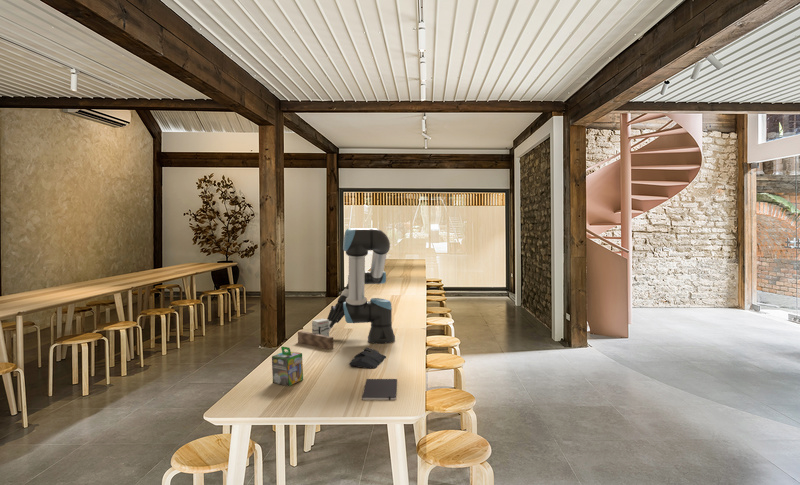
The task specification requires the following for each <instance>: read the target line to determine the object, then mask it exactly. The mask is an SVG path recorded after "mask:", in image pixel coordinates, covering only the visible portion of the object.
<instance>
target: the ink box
mask: <svg viewBox="0 0 800 485" xmlns="http://www.w3.org/2000/svg"><path fill="white" fill-rule="evenodd" d="M311 333H314V334H320V335H325V336H330V331H329V320H327V318H318V319H313V320H312V321H311Z"/></svg>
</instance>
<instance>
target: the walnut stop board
mask: <svg viewBox="0 0 800 485" xmlns="http://www.w3.org/2000/svg"><path fill="white" fill-rule="evenodd" d="M297 343H299V344H303V345H308V346H312V347H317V348H323V349H327V350H332V349H334V337H333V336H330V335H329V336H325V335H320V334H314V333H312V332H309V331H303V330H299V331H297Z"/></svg>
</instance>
